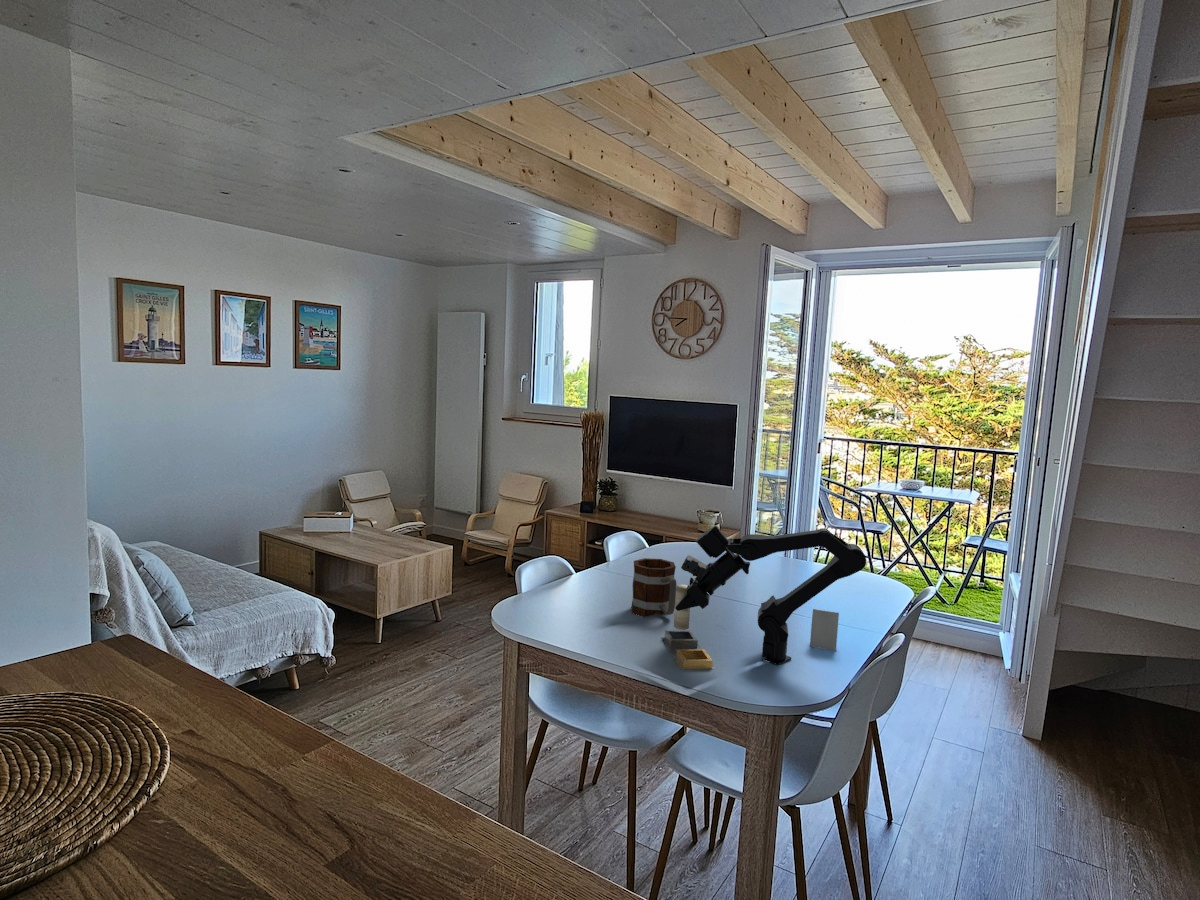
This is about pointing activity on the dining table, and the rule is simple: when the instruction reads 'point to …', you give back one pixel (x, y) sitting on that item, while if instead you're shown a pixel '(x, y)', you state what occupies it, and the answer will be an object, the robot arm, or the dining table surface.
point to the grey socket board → (687, 650)
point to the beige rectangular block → (824, 629)
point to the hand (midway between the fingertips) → (677, 606)
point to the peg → (682, 615)
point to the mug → (653, 587)
